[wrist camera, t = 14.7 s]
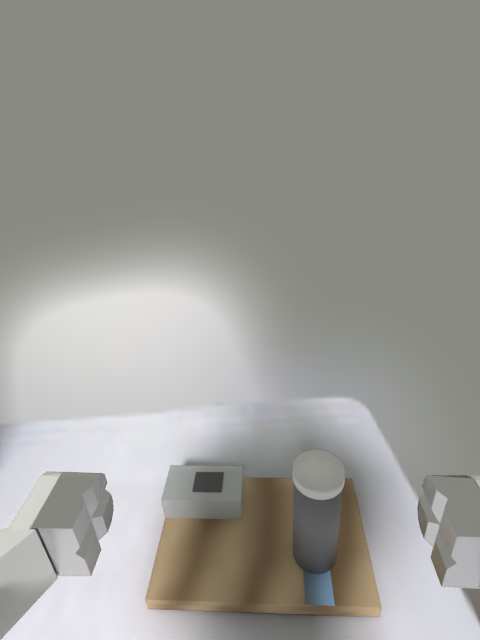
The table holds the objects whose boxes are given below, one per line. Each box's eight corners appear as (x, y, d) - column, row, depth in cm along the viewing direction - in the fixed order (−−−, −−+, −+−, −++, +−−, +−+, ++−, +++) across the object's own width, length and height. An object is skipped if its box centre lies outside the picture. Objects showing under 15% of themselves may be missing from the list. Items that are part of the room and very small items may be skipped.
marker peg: (293, 574, 36) (293, 490, 31) (290, 530, 39) (291, 449, 34) (340, 576, 35) (349, 491, 30) (333, 531, 39) (340, 449, 34)
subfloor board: (148, 608, 35) (145, 598, 35) (177, 486, 47) (175, 476, 46) (379, 617, 34) (381, 606, 33) (350, 487, 45) (351, 478, 44)
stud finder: (165, 518, 41) (161, 498, 40) (174, 482, 45) (170, 464, 44) (242, 519, 41) (240, 499, 39) (244, 483, 45) (242, 464, 43)
